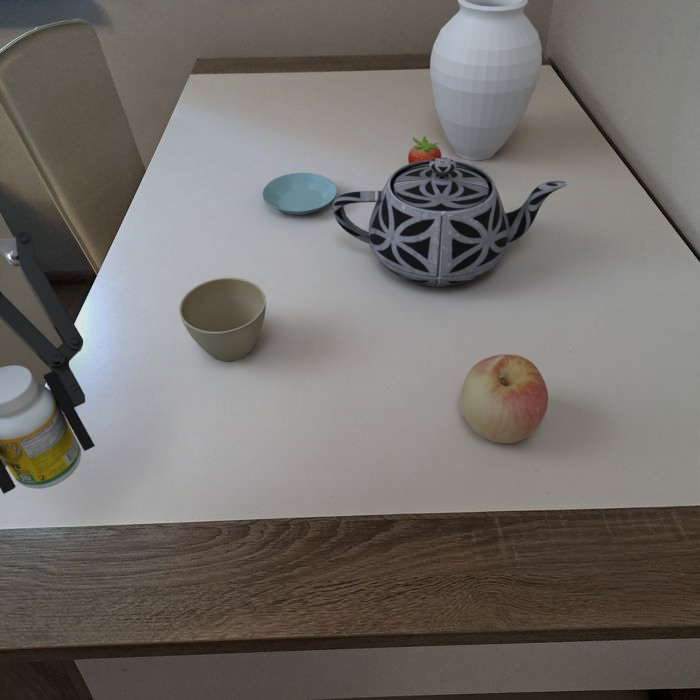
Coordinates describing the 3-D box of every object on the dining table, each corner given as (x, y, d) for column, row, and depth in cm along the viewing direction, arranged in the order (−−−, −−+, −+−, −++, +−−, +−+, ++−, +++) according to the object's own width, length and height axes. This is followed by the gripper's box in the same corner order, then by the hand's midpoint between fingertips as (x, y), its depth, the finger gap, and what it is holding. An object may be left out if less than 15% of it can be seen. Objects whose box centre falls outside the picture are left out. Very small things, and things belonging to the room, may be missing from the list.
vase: (489, 121, 124) (507, -25, 107) (546, 161, 112) (577, 3, 95) (407, 141, 119) (413, -9, 102) (458, 184, 107) (474, 23, 90)
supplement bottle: (93, 465, 53) (54, 385, 47) (30, 503, 51) (-21, 424, 44) (65, 428, 56) (24, 348, 50) (4, 463, 54) (-48, 383, 47)
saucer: (351, 198, 105) (351, 185, 103) (305, 231, 98) (304, 218, 97) (296, 178, 110) (295, 165, 109) (249, 208, 103) (247, 195, 102)
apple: (523, 390, 73) (535, 338, 68) (551, 451, 67) (567, 400, 61) (448, 399, 73) (454, 347, 67) (470, 463, 66) (478, 411, 61)
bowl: (179, 372, 77) (165, 327, 72) (207, 317, 84) (196, 273, 79) (259, 381, 76) (251, 336, 71) (281, 325, 83) (275, 280, 78)
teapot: (565, 300, 85) (592, 199, 74) (332, 301, 86) (326, 202, 75) (538, 221, 98) (557, 127, 88) (337, 223, 100) (333, 130, 89)
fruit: (439, 175, 110) (442, 130, 104) (439, 190, 106) (443, 144, 100) (407, 174, 110) (409, 129, 104) (406, 190, 106) (408, 144, 101)
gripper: (24, 171, 55) (155, 412, 56) (-233, 252, 47) (-71, 530, 48) (20, 131, 48) (169, 408, 50) (-281, 219, 40) (-91, 544, 42)
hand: (50, 468), depth 49 cm, fingers closed on supplement bottle, 5 cm apart
